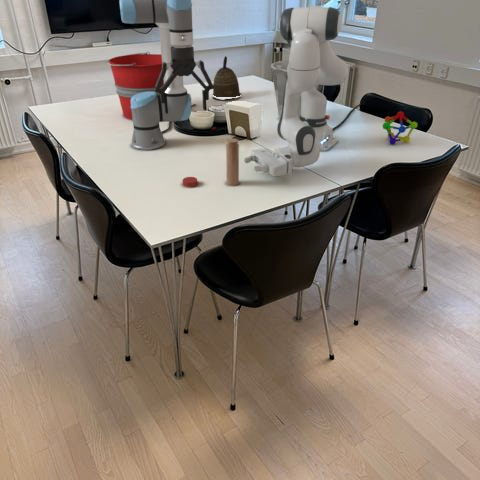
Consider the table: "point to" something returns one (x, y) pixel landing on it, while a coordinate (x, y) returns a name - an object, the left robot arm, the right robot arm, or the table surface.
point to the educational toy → (398, 128)
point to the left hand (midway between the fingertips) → (185, 111)
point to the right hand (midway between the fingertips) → (249, 164)
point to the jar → (232, 162)
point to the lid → (190, 181)
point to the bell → (225, 82)
